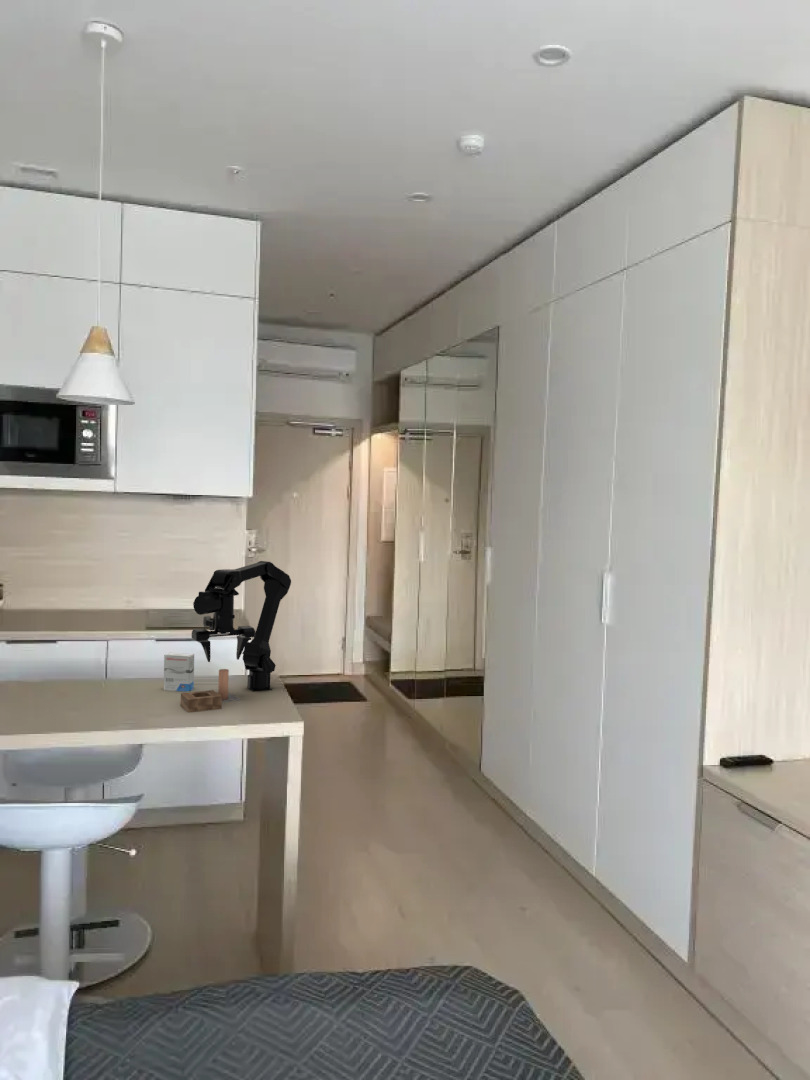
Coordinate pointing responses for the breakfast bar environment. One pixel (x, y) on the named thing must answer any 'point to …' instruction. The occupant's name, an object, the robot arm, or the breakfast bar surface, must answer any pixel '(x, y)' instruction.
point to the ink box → (178, 671)
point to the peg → (223, 683)
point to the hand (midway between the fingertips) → (223, 660)
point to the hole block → (201, 701)
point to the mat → (231, 698)
